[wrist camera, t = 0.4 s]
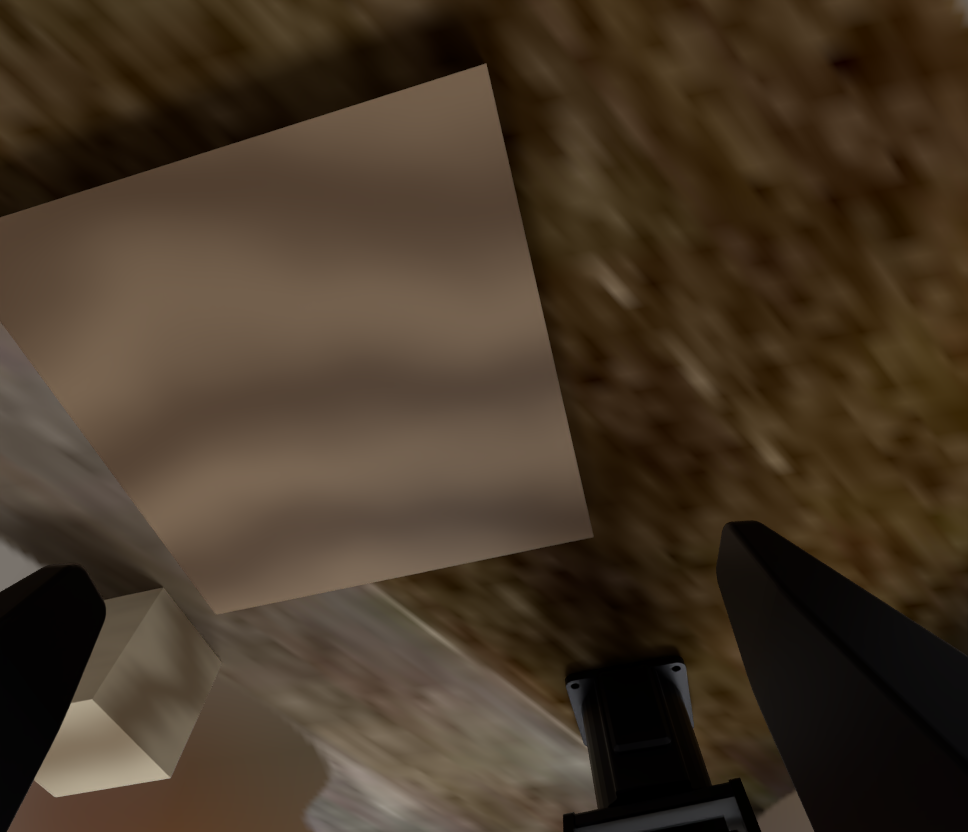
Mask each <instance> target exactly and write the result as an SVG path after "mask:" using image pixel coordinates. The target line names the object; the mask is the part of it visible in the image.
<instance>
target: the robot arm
mask: <svg viewBox="0 0 968 832" xmlns="http://www.w3.org/2000/svg"><path fill="white" fill-rule="evenodd" d="M716 573H717V580H718V585H719V588H720V591H721V594H722V597H723V600H724V604H725V607H726V610H727V613H728V616H729V619H730V622H731V626H732V629H733V632H734V635H735V638H736V641H737V644H738V648H739V651H740V654H741V657H742V660H743V663H744V666H745V670H746V673H747V676H748V678H749V681H750V684H751V687H752V690H753V693H754V695H755V697H756V700H757V702H758V705H759V707H760V710H761V712H762V714H763V716H764V719H765V721H766V723H767V725H768V728H769V730H770V732H771V734H772V737H773V739H774V741H775V744H776V746H777V748H778V750H779V753H780V755H781V757H782V759H783V762H784V764H785V766H786V768H787V771H788V773H789V775H790V777H791V780H792V782H793V784H794V787H795V789H796V791H797V793H798V796H799V798H800V800H801V802H802V805H803V807H804V809H805V811H806V814H807V816H808V818H809V820H810V823H811V825H812V827H813V830H814V832H968V656H967V655H965V654H964V653H962V652H961V651H959V650H957V649H956V648H954V647H953V646H951V645H950V644H948V643H947V642H945V641H943V640H942V639H940V638H939V637H937V636H936V635H934V634H933V633H931V632H930V631H928V630H926V629H925V628H923V627H922V626H920V625H919V624H917V623H916V622H914V621H912V620H911V619H909V618H908V617H906V616H905V615H903V614H902V613H900V612H899V611H897V610H895V609H894V608H892V607H891V606H889V605H888V604H886V603H885V602H883V601H881V600H880V599H878V598H877V597H875V596H874V595H872V594H871V593H869V592H867V591H866V590H864V589H863V588H861V587H860V586H858V585H857V584H855V583H854V582H852V581H850V580H849V579H847V578H846V577H844V576H843V575H841V574H840V573H838V572H836V571H835V570H833V569H832V568H830V567H829V566H827V565H826V564H824V563H823V562H821V561H819V560H818V559H816V558H815V557H813V556H812V555H810V554H809V553H807V552H805V551H804V550H802V549H801V548H799V547H798V546H796V545H795V544H793V543H792V542H790V541H788V540H787V539H785V538H784V537H782V536H781V535H779V534H778V533H776V532H774V531H773V530H771V529H770V528H768V527H767V526H765V525H764V524H762V523H760V522H758V521H752V520H751V521H735V522H729V523H727V524H725V526H724V528H723V531H722V536H721V542H720V548H719V554H718V560H717V566H716ZM105 618H106V605H105V602H104V600H103V598H102V596H101V595H100V593H99V591H98V589H97V588H96V586H95V584H94V582H93V581H92V579H91V577H90V575H89V574H88V572H87V570H86V569H85V568H84V567H83V566H81V565H80V564H76V563H69V564H53V565H48V566H45V567H43V568H41V569H39V570H38V571H36V572H34V573H32V574H31V575H29V576H27V577H26V578H24V579H22V580H20V581H18V582H17V583H15V584H13V585H12V586H10V587H8V588H6V589H5V590H3V591H1V592H0V832H7V830H8V829H9V827H10V825H11V823H12V821H13V819H14V817H15V815H16V813H17V811H18V809H19V807H20V805H21V803H22V802H23V800H24V798H25V796H26V794H27V792H28V790H29V788H30V786H31V784H32V782H33V780H34V779H35V777H36V775H37V773H38V771H39V769H40V767H41V765H42V763H43V761H44V759H45V757H46V755H47V754H48V752H49V750H50V748H51V746H52V744H53V742H54V740H55V738H56V736H57V734H58V732H59V730H60V728H61V725H62V723H63V721H64V718H65V716H66V714H67V712H68V709H69V707H70V704H71V702H72V700H73V697H74V695H75V692H76V690H77V687H78V685H79V683H80V680H81V678H82V675H83V673H84V670H85V668H86V665H87V663H88V661H89V658H90V656H91V653H92V651H93V648H94V646H95V644H96V641H97V639H98V636H99V634H100V631H101V629H102V627H103V624H104V621H105ZM565 682H566V688H567V692H568V695H569V698H570V701H571V704H572V708H573V711H574V714H575V717H576V720H577V723H578V727H579V730H580V733H581V736H582V739H583V743H584V744H585V745H586V746H587V747H588V753H589V759H590V765H591V771H592V777H593V783H594V789H595V795H596V801H597V807H598V809H597V810H592V811H588V812H583V813H578V814H575V813H574V812H572V813H567V814H563V832H761V830H760V827H759V825H758V822H757V820H756V817H755V815H754V812H753V810H752V807H751V805H750V802H749V799H748V797H747V794H746V792H745V789H744V787H743V784H742V782H741V779H740V778H735V779H730V780H729V782H727V783H723V784H718V785H713V786H712V784H711V781H710V778H709V775H708V772H707V769H706V766H705V763H704V760H703V757H702V754H701V751H700V748H699V745H698V742H697V739H696V736H695V733H694V730H693V728H694V722H693V715H692V708H691V701H690V694H689V687H688V680H687V673H686V667H685V664H684V661H683V659H682V658H681V657H678V656H673V657H667V658H661V659H656V660H650V661H644V662H639V663H633V664H627V665H622V666H616V667H610V668H605V669H599V670H593V671H588V672H582V673H576V674H571V675H569V676H567V677H566V679H565Z"/></svg>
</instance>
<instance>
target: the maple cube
mask: <svg viewBox="0 0 968 832" xmlns="http://www.w3.org/2000/svg"><path fill="white" fill-rule="evenodd" d="M104 602H105V605H106V618H105V621H104V624H103V627H102V629H101V631H100V634H99V636H98V639H97V641H96V644H95V646H94V648H93V651H92V653H91V656H90V658H89V661H88V663H87V665H86V668H85V670H84V673H83V675H82V678H81V680H80V683H79V685H78V687H77V690H76V692H75V695H74V697H73V700H72V702H71V704H70V707H69V709H68V712H67V714H66V716H65V718H64V721H63V723H62V725H61V728H60V730H59V732H58V734H57V736H56V738H55V740H54V742H53V744H52V746H51V748H50V750H49V752H48V754H47V755H46V757H45V759H44V761H43V763H42V765H41V767H40V769H39V771H38V773H37V775H36V777H35V779H34V780H35V781H36V782H37V783H38V784H39V785H41V786H42V787H43V788H44V789H46V790H47V791H48V792H49V793H51V794H52V795H53V796H54V797H60V796H66V795H71V794H78V793H84V792H90V791H96V790H102V789H108V788H114V787H120V786H126V785H132V784H138V783H144V782H149V781H156V780H162V779H167V778H171V776H172V774H173V772H174V770H175V767H176V765H177V763H178V761H179V758H180V756H181V754H182V752H183V749H184V747H185V745H186V743H187V741H188V738H189V736H190V734H191V732H192V730H193V727H194V725H195V723H196V720H197V718H198V716H199V714H200V712H201V709H202V707H203V705H204V703H205V701H206V698H207V696H208V694H209V692H210V689H211V687H212V685H213V683H214V681H215V678H216V676H217V674H218V672H219V669H220V667H221V665H222V662H221V661H220V660H219V658H218V657H217V656H216V655H215V653H214V652H213V651H212V649H211V648H210V647H209V646H208V644H207V643H206V642H205V640H204V639H203V638H202V636H201V635H200V634H199V633H198V631H197V630H196V629H195V627H194V626H193V625H192V624H191V622H190V621H189V620H188V618H187V617H186V616H185V615H184V613H183V612H182V611H181V609H180V608H179V607H178V605H177V604H176V603H175V602H174V600H173V599H172V598H171V596H170V595H169V594H168V593H167V591H166V590H165V589H164V587H163V588H158V589H153V590H149V591H144V592H139V593H135V594H130V595H125V596H121V597H116V598H111V599H107V600H104Z"/></svg>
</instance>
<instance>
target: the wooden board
mask: <svg viewBox="0 0 968 832" xmlns="http://www.w3.org/2000/svg"><path fill="white" fill-rule="evenodd" d="M0 321H1V323H2V324H3V325H4V327H5V328H6V330H7V331H8V332H9V334H10V335H11V336H12V338H13V339H14V340H15V342H16V343H17V345H18V346H19V347H20V349H21V350H22V351H23V353H24V354H25V355H26V357H27V358H28V360H29V361H30V362H31V364H32V365H33V366H34V368H35V369H36V370H37V372H38V373H39V375H40V376H41V377H42V379H43V380H44V381H45V383H46V384H47V385H48V387H49V388H50V389H51V391H52V392H53V394H54V395H55V396H56V398H57V399H58V400H59V402H60V403H61V404H62V406H63V407H64V409H65V410H66V411H67V413H68V414H69V415H70V417H71V418H72V419H73V421H74V422H75V424H76V425H77V426H78V428H79V429H80V430H81V432H82V433H83V434H84V436H85V437H86V439H87V440H88V441H89V443H90V444H91V445H92V447H93V448H94V449H95V451H96V452H97V453H98V455H99V456H100V458H101V459H102V460H103V462H104V463H105V464H106V466H107V467H108V468H109V470H110V471H111V473H112V474H113V475H114V477H115V478H116V479H117V481H118V482H119V483H120V485H121V486H122V488H123V489H124V490H125V492H126V493H127V494H128V496H129V497H130V498H131V500H132V501H133V503H134V504H135V505H136V507H137V508H138V509H139V511H140V512H141V513H142V515H143V516H144V517H145V519H146V520H147V522H148V523H149V524H150V526H151V527H152V528H153V530H154V531H155V532H156V534H157V535H158V537H159V538H160V539H161V541H162V542H163V543H164V545H165V546H166V547H167V549H168V550H169V552H170V553H171V554H172V556H173V557H174V558H175V560H176V561H177V562H178V564H179V565H180V566H181V568H182V569H183V571H184V572H185V573H186V575H187V576H188V577H189V579H190V580H191V581H192V583H193V584H194V586H195V587H196V588H197V590H198V591H199V592H200V594H201V595H202V596H203V598H204V599H205V601H206V602H207V603H208V605H209V606H210V607H211V609H212V610H213V611H214V613H215V614H216V615H217V614H222V613H227V612H231V611H236V610H241V609H246V608H251V607H256V606H261V605H265V604H270V603H275V602H280V601H285V600H290V599H295V598H300V597H304V596H309V595H314V594H319V593H324V592H329V591H334V590H338V589H343V588H348V587H353V586H358V585H363V584H368V583H372V582H377V581H382V580H387V579H392V578H397V577H402V576H406V575H411V574H416V573H421V572H426V571H431V570H436V569H441V568H445V567H450V566H455V565H460V564H465V563H470V562H475V561H479V560H484V559H489V558H494V557H499V556H504V555H509V554H513V553H518V552H523V551H528V550H533V549H538V548H543V547H548V546H552V545H557V544H562V543H567V542H572V541H577V540H582V539H586V538H591V537H594V536H593V532H592V527H591V523H590V518H589V514H588V510H587V505H586V501H585V496H584V492H583V488H582V483H581V479H580V474H579V470H578V466H577V461H576V457H575V452H574V448H573V444H572V439H571V435H570V430H569V426H568V421H567V417H566V413H565V408H564V404H563V399H562V395H561V391H560V386H559V382H558V377H557V373H556V369H555V364H554V360H553V355H552V351H551V347H550V342H549V338H548V333H547V329H546V325H545V320H544V316H543V311H542V307H541V302H540V298H539V294H538V289H537V285H536V280H535V276H534V272H533V267H532V263H531V258H530V254H529V250H528V245H527V241H526V236H525V232H524V228H523V223H522V219H521V214H520V210H519V206H518V201H517V197H516V192H515V188H514V183H513V179H512V175H511V170H510V166H509V161H508V157H507V153H506V148H505V144H504V139H503V135H502V131H501V126H500V122H499V117H498V113H497V109H496V104H495V100H494V95H493V91H492V86H491V82H490V78H489V73H488V69H487V64H483V65H480V66H477V67H474V68H470V69H467V70H464V71H461V72H458V73H455V74H451V75H448V76H445V77H442V78H439V79H436V80H433V81H429V82H426V83H423V84H420V85H417V86H414V87H410V88H407V89H404V90H401V91H398V92H395V93H391V94H388V95H385V96H382V97H379V98H376V99H373V100H369V101H366V102H363V103H360V104H357V105H354V106H350V107H347V108H344V109H341V110H338V111H335V112H331V113H328V114H325V115H322V116H319V117H316V118H313V119H309V120H306V121H303V122H300V123H297V124H294V125H290V126H287V127H284V128H281V129H278V130H275V131H271V132H268V133H265V134H262V135H259V136H256V137H253V138H249V139H246V140H243V141H240V142H237V143H234V144H230V145H227V146H224V147H221V148H218V149H215V150H211V151H208V152H205V153H202V154H199V155H196V156H193V157H189V158H186V159H183V160H180V161H177V162H174V163H170V164H167V165H164V166H161V167H158V168H155V169H151V170H148V171H145V172H142V173H139V174H136V175H133V176H129V177H126V178H123V179H120V180H117V181H114V182H110V183H107V184H104V185H101V186H98V187H95V188H91V189H88V190H85V191H82V192H79V193H76V194H73V195H69V196H66V197H63V198H60V199H57V200H54V201H50V202H47V203H44V204H41V205H38V206H35V207H31V208H28V209H25V210H22V211H19V212H16V213H13V214H9V215H6V216H3V217H0Z"/></svg>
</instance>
